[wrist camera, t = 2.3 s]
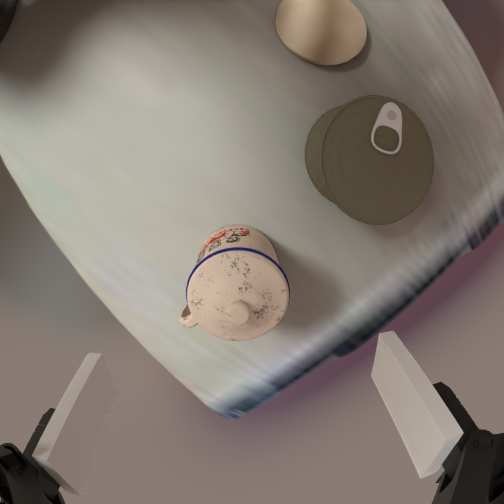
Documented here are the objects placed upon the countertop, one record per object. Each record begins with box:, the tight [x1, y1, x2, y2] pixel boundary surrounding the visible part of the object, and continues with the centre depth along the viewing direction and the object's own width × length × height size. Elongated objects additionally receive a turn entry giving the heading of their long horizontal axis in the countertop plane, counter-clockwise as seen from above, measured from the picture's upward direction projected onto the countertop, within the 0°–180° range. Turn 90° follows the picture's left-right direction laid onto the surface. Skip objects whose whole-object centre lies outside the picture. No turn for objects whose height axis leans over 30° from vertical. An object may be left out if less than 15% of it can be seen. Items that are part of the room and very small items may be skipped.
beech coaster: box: [275, 0, 367, 66], centre depth 25 cm, size 10×10×1 cm
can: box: [305, 95, 434, 225], centre depth 28 cm, size 12×12×7 cm
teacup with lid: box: [179, 225, 290, 341], centre depth 29 cm, size 12×9×12 cm
